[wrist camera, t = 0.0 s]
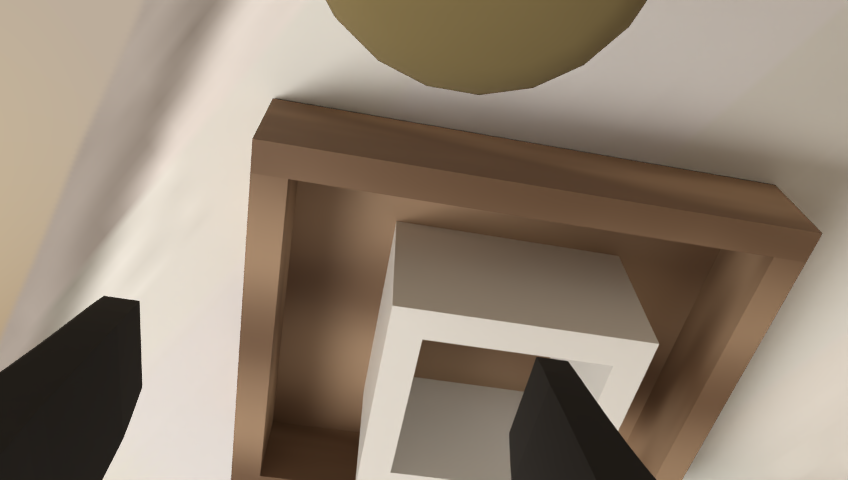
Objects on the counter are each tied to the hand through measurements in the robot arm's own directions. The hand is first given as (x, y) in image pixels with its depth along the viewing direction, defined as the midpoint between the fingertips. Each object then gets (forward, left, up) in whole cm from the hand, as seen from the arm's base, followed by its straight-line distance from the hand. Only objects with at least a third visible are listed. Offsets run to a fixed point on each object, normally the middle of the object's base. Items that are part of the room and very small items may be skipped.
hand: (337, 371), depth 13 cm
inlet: (-6, -5, -10) cm, 12 cm away
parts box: (-6, -5, -10) cm, 13 cm away
